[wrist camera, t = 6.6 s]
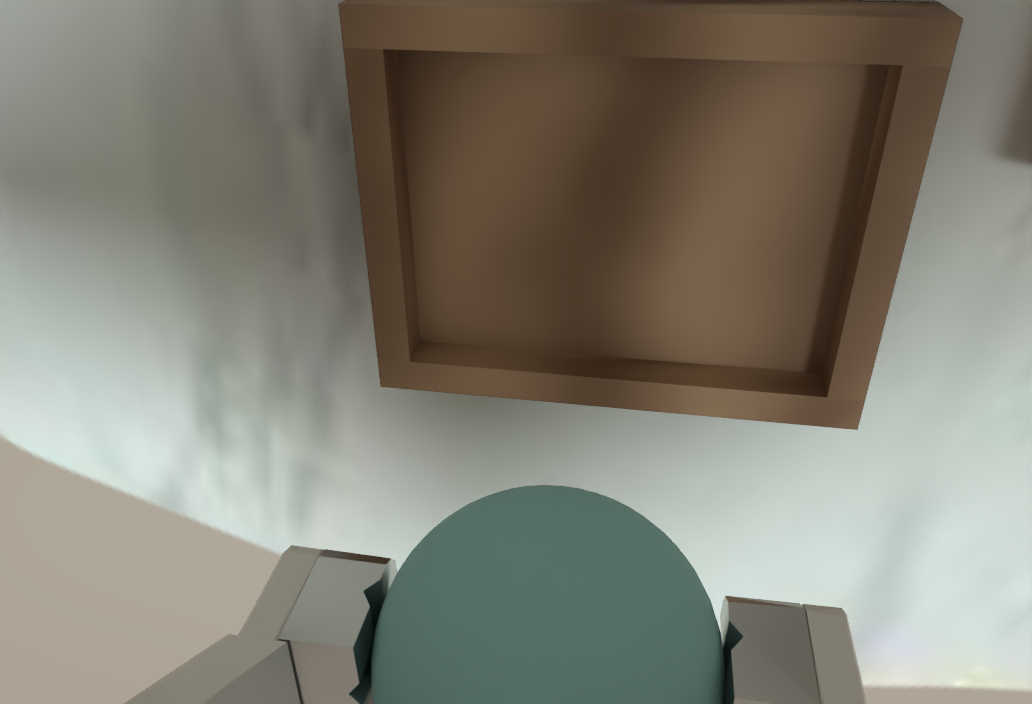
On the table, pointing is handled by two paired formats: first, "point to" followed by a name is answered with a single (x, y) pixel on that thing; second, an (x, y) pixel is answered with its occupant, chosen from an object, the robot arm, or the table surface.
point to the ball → (547, 609)
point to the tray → (641, 195)
